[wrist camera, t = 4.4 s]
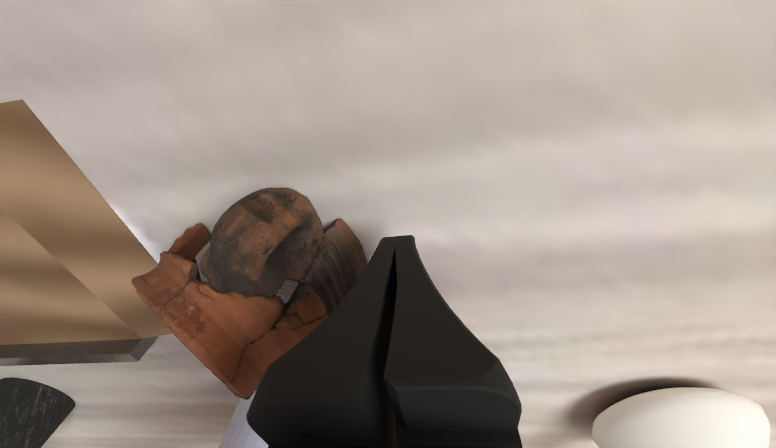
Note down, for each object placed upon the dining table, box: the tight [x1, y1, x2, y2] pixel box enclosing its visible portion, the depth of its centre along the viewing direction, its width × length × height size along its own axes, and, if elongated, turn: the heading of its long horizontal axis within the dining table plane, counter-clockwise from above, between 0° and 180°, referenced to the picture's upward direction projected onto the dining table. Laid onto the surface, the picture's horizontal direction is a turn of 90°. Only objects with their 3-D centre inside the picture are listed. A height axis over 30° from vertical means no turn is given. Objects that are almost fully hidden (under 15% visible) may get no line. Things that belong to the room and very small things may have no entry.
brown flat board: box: [0, 100, 172, 345], centre depth 18 cm, size 16×20×2 cm
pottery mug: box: [131, 188, 367, 400], centre depth 14 cm, size 12×10×8 cm
